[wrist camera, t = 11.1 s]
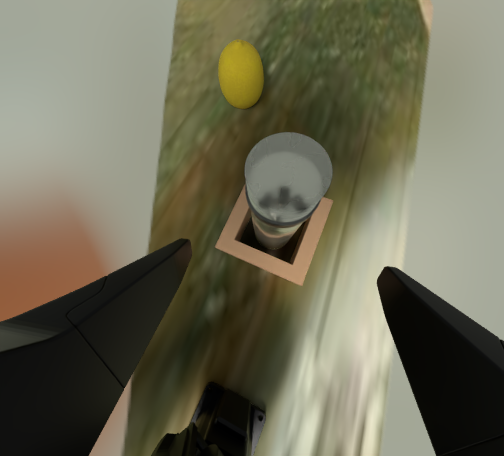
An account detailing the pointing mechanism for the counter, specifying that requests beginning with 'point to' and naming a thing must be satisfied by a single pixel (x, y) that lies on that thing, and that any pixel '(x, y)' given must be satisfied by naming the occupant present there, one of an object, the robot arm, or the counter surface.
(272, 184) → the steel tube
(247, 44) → the lemon
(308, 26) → the counter surface
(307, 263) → the terracotta collar
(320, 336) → the counter surface
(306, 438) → the counter surface
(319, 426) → the counter surface
